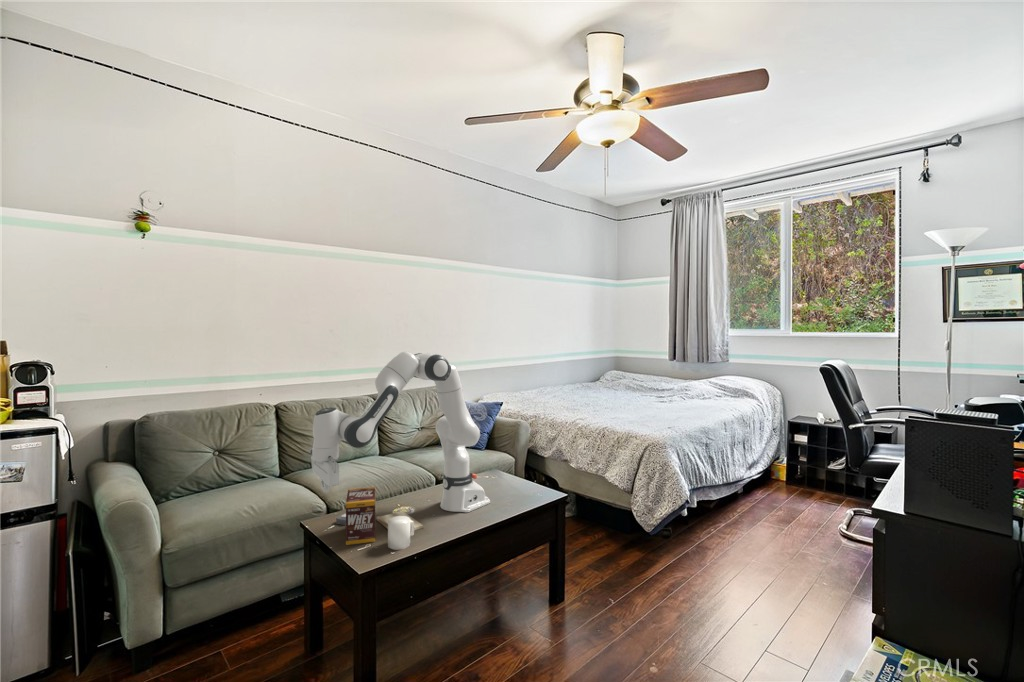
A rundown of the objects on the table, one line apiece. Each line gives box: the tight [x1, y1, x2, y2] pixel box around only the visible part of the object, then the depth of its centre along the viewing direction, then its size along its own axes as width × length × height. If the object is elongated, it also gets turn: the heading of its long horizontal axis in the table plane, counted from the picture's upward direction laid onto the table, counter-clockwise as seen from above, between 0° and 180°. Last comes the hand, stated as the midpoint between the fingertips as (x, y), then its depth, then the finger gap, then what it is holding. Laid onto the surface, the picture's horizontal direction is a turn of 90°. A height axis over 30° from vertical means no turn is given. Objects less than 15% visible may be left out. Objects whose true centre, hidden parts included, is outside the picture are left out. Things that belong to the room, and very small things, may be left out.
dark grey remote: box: [335, 512, 346, 526], centre depth 197 cm, size 16×5×3 cm, turn 159°
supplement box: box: [345, 486, 376, 546], centre depth 180 cm, size 10×15×16 cm
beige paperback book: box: [376, 510, 424, 531], centre depth 191 cm, size 12×18×1 cm, turn 39°
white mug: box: [387, 516, 415, 551], centre depth 173 cm, size 9×8×9 cm
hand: (325, 491), depth 171 cm, fingers closed
